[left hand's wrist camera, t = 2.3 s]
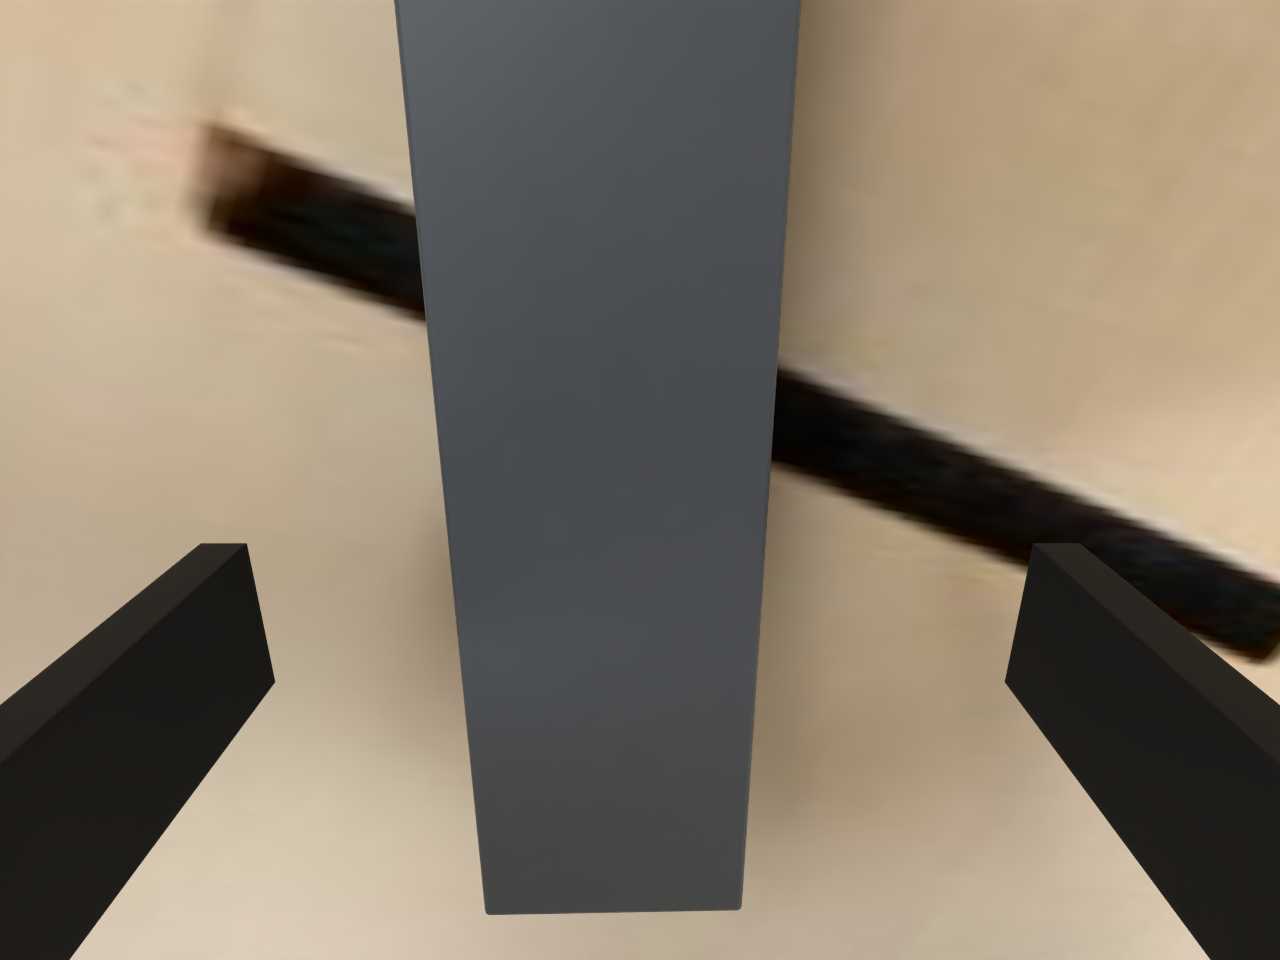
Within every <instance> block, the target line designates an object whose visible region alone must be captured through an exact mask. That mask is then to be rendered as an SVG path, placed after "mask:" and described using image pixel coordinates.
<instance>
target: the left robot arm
mask: <svg viewBox="0 0 1280 960" xmlns="http://www.w3.org/2000/svg"><path fill="white" fill-rule="evenodd" d="M274 683H275V679H274V674H273V669H272V664H271V659H270V654H269V650H268V645H267V640H266V635H265V630H264V625H263V620H262V615H261V611H260V606H259V601H258V596H257V591H256V586H255V581H254V576H253V572H252V567H251V562H250V557H249V552H248V547H247V543H201V544H200V545H198V546H197V547H196V548H195V549H193V550H192V551H191V552H190V553H188V554H187V555H186V556H185V557H183V558H182V559H181V560H180V561H178V562H177V563H176V564H175V565H174V566H172V567H171V568H170V569H169V570H167V571H166V572H165V573H164V574H162V575H161V576H160V577H159V578H157V579H156V580H155V581H154V582H152V583H151V584H150V585H149V586H147V587H146V588H145V589H144V590H142V591H141V592H140V593H139V594H138V595H136V596H135V597H134V598H133V599H131V600H130V601H129V602H128V603H126V604H125V605H124V606H123V607H121V608H120V609H119V610H118V611H116V612H115V613H114V614H113V615H111V616H110V617H109V618H108V619H106V620H105V621H104V622H103V623H102V624H100V625H99V626H98V627H97V628H95V629H94V630H93V631H92V632H90V633H89V634H88V635H87V636H85V637H84V638H83V639H82V640H80V641H79V642H78V643H77V644H75V645H74V646H73V647H72V648H70V649H69V650H68V651H67V652H66V653H64V654H63V655H62V656H61V657H59V658H58V659H57V660H56V661H54V662H53V663H52V664H51V665H49V666H48V667H47V668H46V669H44V670H43V671H42V672H41V673H39V674H38V675H37V676H36V677H35V678H33V679H32V680H31V681H30V682H28V683H27V684H26V685H25V686H23V687H22V688H21V689H20V690H18V691H17V692H16V693H15V694H13V695H12V696H11V697H10V698H8V699H7V700H6V701H5V702H3V703H2V704H1V705H0V960H70V958H71V957H72V956H73V954H74V953H75V952H76V950H77V949H78V947H79V946H80V945H81V943H82V942H83V941H84V939H85V938H86V937H87V935H88V934H89V933H90V931H91V930H92V929H93V927H94V926H95V925H96V923H97V922H98V920H99V919H100V918H101V916H102V915H103V914H104V912H105V911H106V910H107V908H108V907H109V906H110V904H111V903H112V902H113V900H114V899H115V898H116V896H117V895H118V893H119V892H120V891H121V889H122V888H123V887H124V885H125V884H126V883H127V881H128V880H129V879H130V877H131V876H132V875H133V873H134V872H135V871H136V869H137V868H138V866H139V865H140V864H141V862H142V861H143V860H144V858H145V857H146V856H147V854H148V853H149V852H150V850H151V849H152V848H153V846H154V845H155V844H156V842H157V841H158V839H159V838H160V837H161V835H162V834H163V833H164V831H165V830H166V829H167V827H168V826H169V825H170V823H171V822H172V821H173V819H174V818H175V817H176V815H177V814H178V812H179V811H180V810H181V808H182V807H183V806H184V804H185V803H186V802H187V800H188V799H189V798H190V796H191V795H192V794H193V792H194V791H195V790H196V788H197V787H198V786H199V784H200V783H201V781H202V780H203V779H204V777H205V776H206V775H207V773H208V772H209V771H210V769H211V768H212V767H213V765H214V764H215V763H216V761H217V760H218V759H219V757H220V756H221V754H222V753H223V752H224V750H225V749H226V748H227V746H228V745H229V744H230V742H231V741H232V740H233V738H234V737H235V736H236V734H237V733H238V732H239V730H240V729H241V727H242V726H243V725H244V723H245V722H246V721H247V719H248V718H249V717H250V715H251V714H252V713H253V711H254V710H255V709H256V707H257V706H258V705H259V703H260V702H261V700H262V699H263V698H264V696H265V695H266V694H267V692H268V691H269V690H270V688H271V687H272V686H273V684H274ZM1005 683H1006V684H1007V686H1008V687H1009V688H1010V690H1011V691H1012V692H1013V694H1014V695H1015V696H1016V698H1017V699H1018V700H1019V702H1020V703H1021V705H1022V706H1023V707H1024V709H1025V710H1026V711H1027V713H1028V714H1029V715H1030V717H1031V718H1032V719H1033V721H1034V722H1035V723H1036V725H1037V726H1038V727H1039V729H1040V730H1041V732H1042V733H1043V734H1044V736H1045V737H1046V738H1047V740H1048V741H1049V742H1050V744H1051V745H1052V746H1053V748H1054V749H1055V750H1056V752H1057V753H1058V754H1059V756H1060V757H1061V759H1062V760H1063V761H1064V763H1065V764H1066V765H1067V767H1068V768H1069V769H1070V771H1071V772H1072V773H1073V775H1074V776H1075V777H1076V779H1077V780H1078V781H1079V783H1080V784H1081V785H1082V787H1083V788H1084V790H1085V791H1086V792H1087V794H1088V795H1089V796H1090V798H1091V799H1092V800H1093V802H1094V803H1095V804H1096V806H1097V807H1098V808H1099V810H1100V811H1101V812H1102V814H1103V815H1104V817H1105V818H1106V819H1107V821H1108V822H1109V823H1110V825H1111V826H1112V827H1113V829H1114V830H1115V831H1116V833H1117V834H1118V835H1119V837H1120V838H1121V839H1122V841H1123V842H1124V844H1125V845H1126V846H1127V848H1128V849H1129V850H1130V852H1131V853H1132V854H1133V856H1134V857H1135V858H1136V860H1137V861H1138V862H1139V864H1140V865H1141V866H1142V868H1143V869H1144V871H1145V872H1146V873H1147V875H1148V876H1149V877H1150V879H1151V880H1152V881H1153V883H1154V884H1155V885H1156V887H1157V888H1158V889H1159V891H1160V892H1161V893H1162V895H1163V896H1164V898H1165V899H1166V900H1167V902H1168V903H1169V904H1170V906H1171V907H1172V908H1173V910H1174V911H1175V912H1176V914H1177V915H1178V916H1179V918H1180V919H1181V920H1182V922H1183V923H1184V925H1185V926H1186V927H1187V929H1188V930H1189V931H1190V933H1191V934H1192V935H1193V937H1194V938H1195V939H1196V941H1197V942H1198V943H1199V945H1200V946H1201V947H1202V949H1203V950H1204V952H1205V953H1206V954H1207V956H1208V957H1209V958H1210V960H1280V705H1279V704H1278V703H1277V702H1275V701H1274V700H1273V699H1272V698H1270V697H1269V696H1268V695H1267V694H1265V693H1264V692H1263V691H1262V690H1260V689H1259V688H1258V687H1257V686H1255V685H1254V684H1253V683H1252V682H1250V681H1249V680H1248V679H1247V678H1245V677H1244V676H1243V675H1242V674H1241V673H1239V672H1238V671H1237V670H1236V669H1234V668H1233V667H1232V666H1231V665H1229V664H1228V663H1227V662H1226V661H1224V660H1223V659H1222V658H1221V657H1219V656H1218V655H1217V654H1216V653H1214V652H1213V651H1212V650H1211V649H1210V648H1208V647H1207V646H1206V645H1205V644H1203V643H1202V642H1201V641H1200V640H1198V639H1197V638H1196V637H1195V636H1193V635H1192V634H1191V633H1190V632H1188V631H1187V630H1186V629H1185V628H1183V627H1182V626H1181V625H1180V624H1178V623H1177V622H1176V621H1175V620H1174V619H1172V618H1171V617H1170V616H1169V615H1167V614H1166V613H1165V612H1164V611H1162V610H1161V609H1160V608H1159V607H1157V606H1156V605H1155V604H1154V603H1152V602H1151V601H1150V600H1149V599H1147V598H1146V597H1145V596H1144V595H1142V594H1141V593H1140V592H1139V591H1138V590H1136V589H1135V588H1134V587H1133V586H1131V585H1130V584H1129V583H1128V582H1126V581H1125V580H1124V579H1123V578H1121V577H1120V576H1119V575H1118V574H1116V573H1115V572H1114V571H1113V570H1111V569H1110V568H1109V567H1108V566H1106V565H1105V564H1104V563H1103V562H1102V561H1100V560H1099V559H1098V558H1097V557H1095V556H1094V555H1093V554H1092V553H1090V552H1089V551H1088V550H1087V549H1085V548H1084V547H1083V546H1082V545H1080V544H1079V543H1033V547H1032V552H1031V557H1030V562H1029V567H1028V572H1027V576H1026V581H1025V586H1024V591H1023V596H1022V601H1021V606H1020V611H1019V615H1018V620H1017V625H1016V630H1015V635H1014V640H1013V645H1012V650H1011V654H1010V659H1009V664H1008V669H1007V674H1006V679H1005Z"/></svg>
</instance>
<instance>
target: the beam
mask: <svg viewBox="0 0 1280 960" xmlns="http://www.w3.org/2000/svg"><path fill="white" fill-rule="evenodd" d="M394 4H395V14H396V24H397V34H398V44H399V54H400V64H401V74H402V84H403V94H404V104H405V114H406V124H407V134H408V144H409V154H410V164H411V174H412V184H413V194H414V204H415V214H416V224H417V234H418V244H419V254H420V264H421V274H422V284H423V294H424V304H425V314H426V324H427V334H428V344H429V354H430V364H431V374H432V384H433V394H434V404H435V414H436V424H437V434H438V444H439V454H440V464H441V474H442V484H443V494H444V504H445V514H446V524H447V534H448V544H449V554H450V564H451V574H452V584H453V594H454V604H455V614H456V624H457V634H458V644H459V654H460V664H461V674H462V684H463V694H464V704H465V714H466V724H467V734H468V744H469V754H470V764H471V774H472V784H473V794H474V804H475V814H476V824H477V834H478V844H479V854H480V864H481V874H482V884H483V894H484V904H485V911H486V913H487V914H488V915H511V914H563V913H615V912H667V911H720V910H739V909H740V908H741V905H742V892H743V877H744V861H745V846H746V831H747V816H748V801H749V785H750V770H751V755H752V740H753V725H754V710H755V694H756V679H757V664H758V649H759V634H760V618H761V603H762V588H763V573H764V558H765V542H766V527H767V512H768V497H769V482H770V466H771V451H772V436H773V421H774V406H775V390H776V375H777V360H778V345H779V330H780V314H781V299H782V284H783V269H784V254H785V238H786V223H787V208H788V193H789V178H790V162H791V147H792V132H793V117H794V102H795V86H796V71H797V56H798V41H799V26H800V10H801V0H394Z"/></svg>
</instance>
